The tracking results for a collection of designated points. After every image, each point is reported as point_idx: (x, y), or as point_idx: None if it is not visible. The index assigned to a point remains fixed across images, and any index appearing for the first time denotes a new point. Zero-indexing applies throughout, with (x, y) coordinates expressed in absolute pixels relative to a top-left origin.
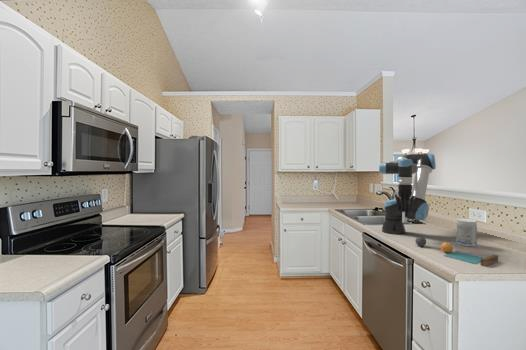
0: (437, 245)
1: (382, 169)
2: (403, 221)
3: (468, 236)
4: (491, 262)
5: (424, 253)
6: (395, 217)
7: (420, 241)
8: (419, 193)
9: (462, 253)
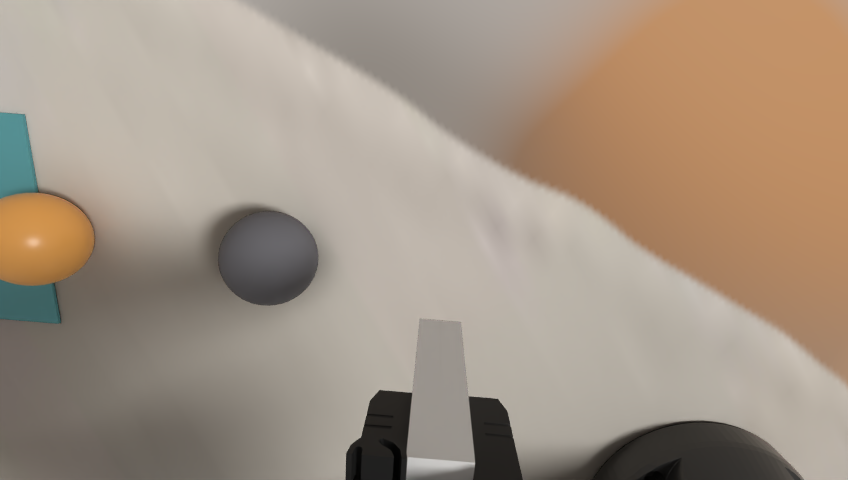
0: (230, 372)
1: None
2: (436, 328)
3: None
4: None
5: (133, 41)
6: None
7: (244, 220)
8: None
9: (6, 293)
